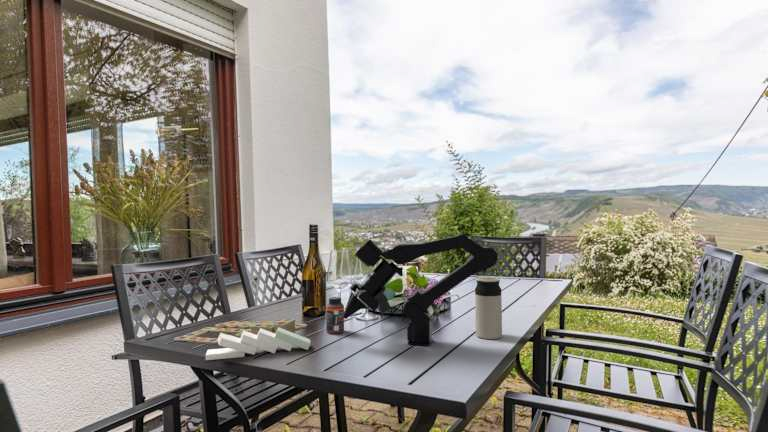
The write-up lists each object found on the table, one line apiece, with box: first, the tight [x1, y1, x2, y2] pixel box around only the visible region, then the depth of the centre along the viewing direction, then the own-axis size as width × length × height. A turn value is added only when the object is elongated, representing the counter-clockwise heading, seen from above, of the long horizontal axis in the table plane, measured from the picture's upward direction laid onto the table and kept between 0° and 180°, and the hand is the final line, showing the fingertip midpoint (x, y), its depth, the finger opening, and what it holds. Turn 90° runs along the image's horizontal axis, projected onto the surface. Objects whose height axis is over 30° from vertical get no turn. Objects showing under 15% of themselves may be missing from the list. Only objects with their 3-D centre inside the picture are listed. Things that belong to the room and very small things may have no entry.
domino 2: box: [217, 332, 258, 355], centre depth 123 cm, size 2×5×10 cm
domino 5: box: [275, 327, 311, 351], centre depth 129 cm, size 2×5×10 cm
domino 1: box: [205, 347, 246, 361], centre depth 124 cm, size 2×5×10 cm
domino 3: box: [240, 331, 278, 354], centre depth 126 cm, size 2×5×10 cm
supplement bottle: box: [325, 296, 345, 335], centre depth 147 cm, size 6×6×11 cm
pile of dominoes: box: [173, 318, 308, 345], centre depth 148 cm, size 35×27×6 cm
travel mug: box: [474, 276, 503, 340], centre depth 139 cm, size 8×8×18 cm
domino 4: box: [257, 328, 294, 352], centre depth 128 cm, size 2×5×10 cm
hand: (344, 317), depth 131 cm, fingers closed
